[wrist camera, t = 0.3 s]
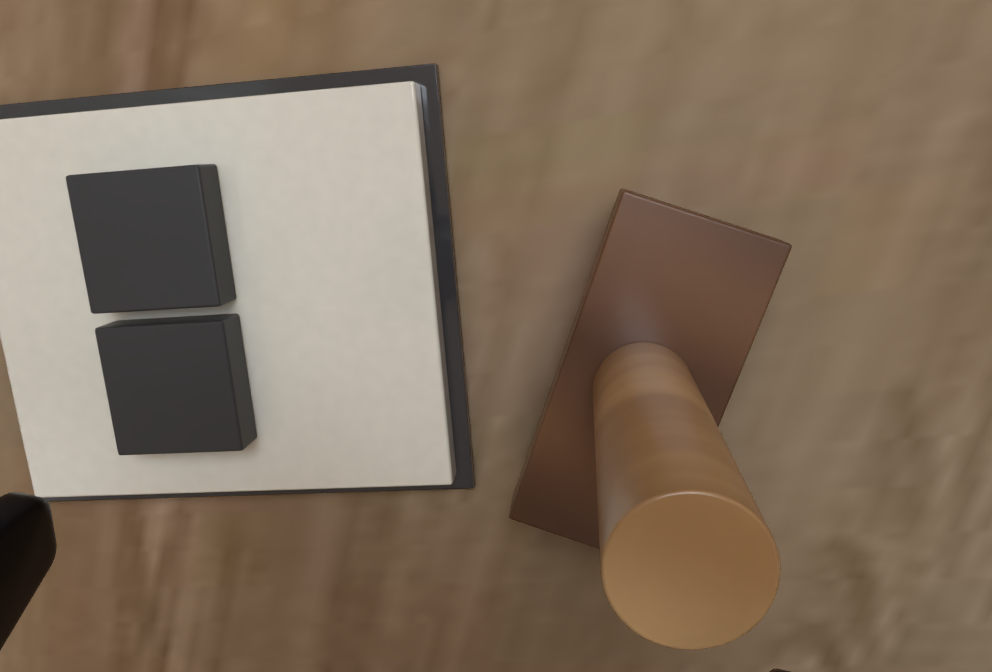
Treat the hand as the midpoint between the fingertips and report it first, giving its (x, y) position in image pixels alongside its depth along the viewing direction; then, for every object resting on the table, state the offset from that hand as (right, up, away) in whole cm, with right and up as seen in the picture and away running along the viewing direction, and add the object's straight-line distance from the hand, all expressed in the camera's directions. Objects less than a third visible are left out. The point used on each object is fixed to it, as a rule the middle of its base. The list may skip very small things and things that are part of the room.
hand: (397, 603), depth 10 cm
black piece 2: (-8, +2, +15) cm, 17 cm away
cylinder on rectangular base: (+5, +3, +15) cm, 16 cm away
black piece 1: (-9, +6, +14) cm, 18 cm away
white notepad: (-7, +4, +16) cm, 18 cm away
